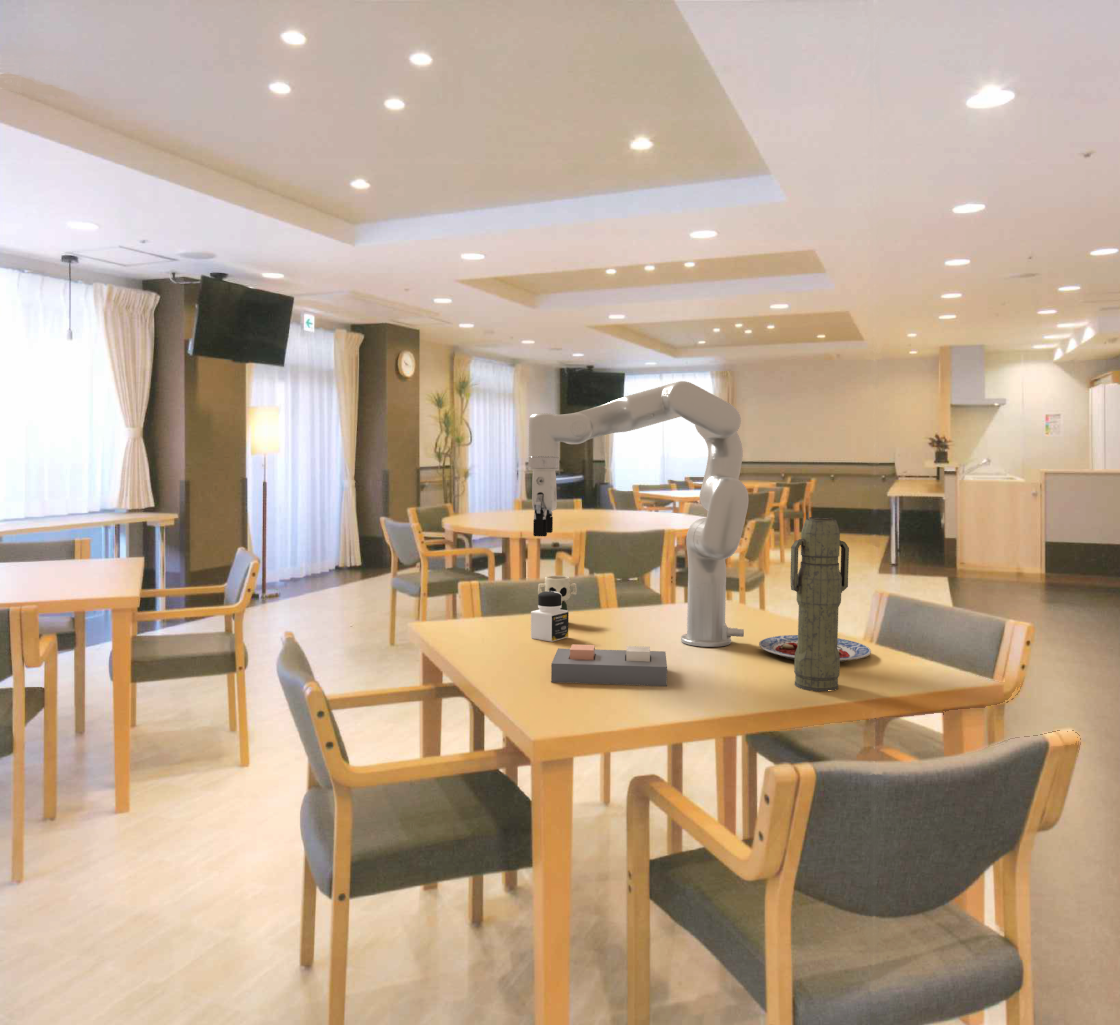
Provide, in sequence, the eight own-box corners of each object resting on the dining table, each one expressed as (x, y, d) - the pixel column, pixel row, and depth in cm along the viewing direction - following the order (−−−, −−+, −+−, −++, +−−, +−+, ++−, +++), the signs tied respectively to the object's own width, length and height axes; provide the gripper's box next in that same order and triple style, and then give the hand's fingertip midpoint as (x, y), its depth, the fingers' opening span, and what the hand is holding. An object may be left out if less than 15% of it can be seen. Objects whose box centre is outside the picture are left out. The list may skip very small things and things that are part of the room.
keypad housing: (665, 669, 192) (665, 651, 192) (666, 685, 178) (667, 666, 178) (557, 665, 194) (557, 648, 194) (551, 682, 180) (551, 663, 180)
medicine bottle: (552, 642, 219) (552, 595, 218) (530, 638, 223) (530, 592, 222) (568, 637, 224) (569, 591, 224) (547, 633, 229) (547, 589, 228)
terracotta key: (594, 658, 189) (594, 645, 189) (593, 664, 184) (593, 650, 184) (571, 657, 189) (571, 644, 189) (569, 663, 184) (570, 649, 184)
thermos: (854, 689, 176) (859, 519, 174) (802, 693, 173) (806, 519, 171) (830, 678, 185) (835, 515, 183) (780, 681, 182) (784, 516, 180)
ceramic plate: (806, 673, 191) (806, 659, 190) (737, 648, 214) (737, 636, 214) (895, 662, 201) (895, 649, 201) (820, 640, 224) (820, 628, 224)
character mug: (538, 625, 240) (538, 579, 239) (537, 620, 247) (537, 575, 246) (577, 625, 240) (577, 579, 239) (575, 620, 247) (575, 575, 246)
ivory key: (649, 660, 188) (649, 646, 188) (649, 665, 183) (650, 651, 183) (626, 659, 188) (626, 645, 188) (626, 665, 183) (626, 651, 183)
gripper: (554, 465, 201) (553, 538, 203) (563, 464, 218) (562, 531, 220) (522, 464, 202) (521, 537, 204) (534, 463, 219) (533, 530, 221)
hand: (543, 534), depth 212 cm, fingers open, 9 cm apart
